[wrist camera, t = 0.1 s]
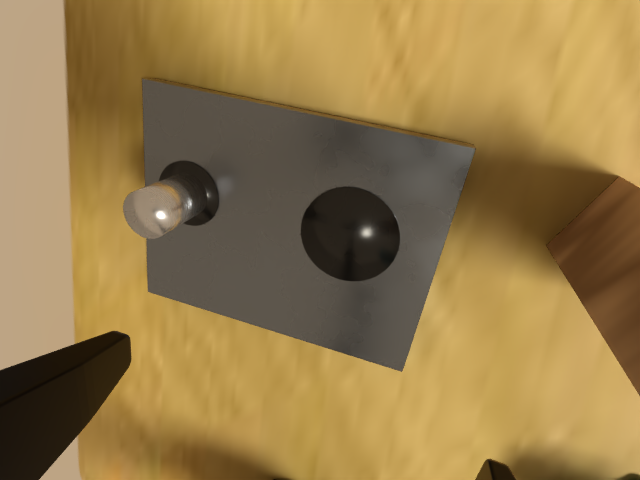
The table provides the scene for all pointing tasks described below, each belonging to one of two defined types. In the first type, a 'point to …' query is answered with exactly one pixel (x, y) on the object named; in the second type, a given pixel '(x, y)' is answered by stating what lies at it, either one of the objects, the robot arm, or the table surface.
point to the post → (608, 268)
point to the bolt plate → (294, 217)
